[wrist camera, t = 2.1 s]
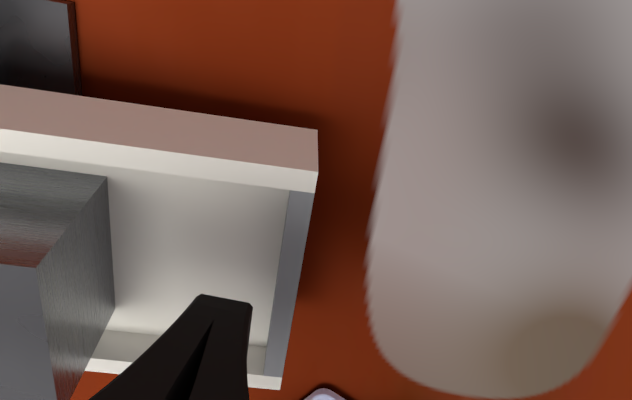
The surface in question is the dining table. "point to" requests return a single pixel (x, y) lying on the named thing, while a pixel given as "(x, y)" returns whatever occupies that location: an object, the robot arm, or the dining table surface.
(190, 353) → the robot arm
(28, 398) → the grey block
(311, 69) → the dining table surface
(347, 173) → the dining table surface
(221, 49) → the dining table surface
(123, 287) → the beam
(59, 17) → the stand
